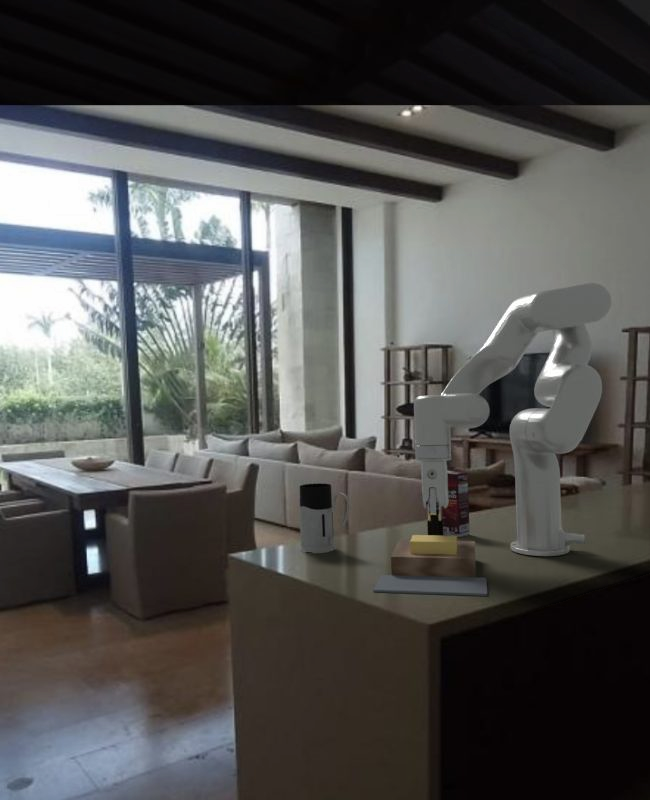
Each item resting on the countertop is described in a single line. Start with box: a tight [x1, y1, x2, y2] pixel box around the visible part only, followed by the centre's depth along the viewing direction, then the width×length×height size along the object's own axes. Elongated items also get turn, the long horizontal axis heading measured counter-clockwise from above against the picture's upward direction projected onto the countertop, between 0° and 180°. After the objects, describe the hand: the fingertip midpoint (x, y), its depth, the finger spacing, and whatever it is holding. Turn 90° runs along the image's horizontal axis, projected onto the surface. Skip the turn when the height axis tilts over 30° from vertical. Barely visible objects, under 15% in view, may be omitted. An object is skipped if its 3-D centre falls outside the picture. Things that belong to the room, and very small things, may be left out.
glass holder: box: [298, 482, 351, 554], centre depth 150 cm, size 9×14×15 cm, turn 50°
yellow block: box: [409, 534, 458, 554], centre depth 130 cm, size 9×6×2 cm, turn 77°
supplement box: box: [442, 470, 471, 538], centre depth 163 cm, size 9×5×16 cm, turn 41°
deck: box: [390, 539, 476, 578], centre depth 131 cm, size 16×15×4 cm
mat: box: [373, 574, 488, 597], centre depth 119 cm, size 20×10×1 cm, turn 77°
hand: (435, 539), depth 137 cm, fingers closed
